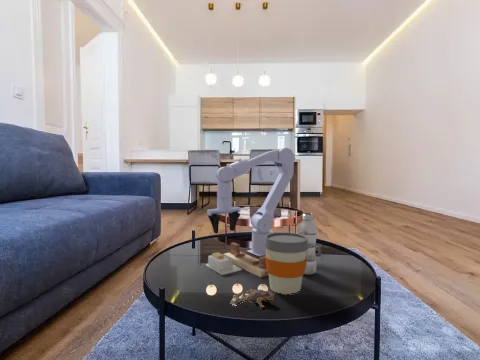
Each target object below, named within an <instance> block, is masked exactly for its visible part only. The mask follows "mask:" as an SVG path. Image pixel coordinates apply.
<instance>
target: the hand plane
mask: <svg viewBox="0 0 480 360" xmlns="http://www.w3.org/2000/svg"><path fill="white" fill-rule="evenodd" d="M229 251H230V252H225V253H222V254H223V255H225V256H227V257H229V258H231V259H233V265H235V266H237V267H239V268H241V269H242V270H245V271H246V272H249V274H252V275H255V276H257V277H259V278H263V277H267V276H268V277H269V273H268V272H267V268H266V258H265V256H258V258H256V257H254V256H251V255H249V254H247V253H245V252H241V244H239V243H236V242H230V250H229Z"/></svg>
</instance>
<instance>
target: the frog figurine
mask: <svg viewBox="0 0 480 360" xmlns="http://www.w3.org/2000/svg"><path fill="white" fill-rule="evenodd" d="M274 297H275V294H274V293H273V292H272V290H271V289H268V290H263V289H255V288H254V287H253V288H250V289H248V290H246V292H239V293H237V294H233V296H232V299H231V300H230V302H229V304H230V305H231V304H232V305H231V306H233V305H234V306H237V305H236V304H237V303H238V302H240V301H244V302H251V303H252V302H256V303H258V304H259V306H260V307H265V305H263V302H262V301H265V300H272V301H273V300H274ZM258 304H257V305H258ZM234 306H233V307H234Z"/></svg>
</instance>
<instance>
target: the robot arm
mask: <svg viewBox="0 0 480 360" xmlns="http://www.w3.org/2000/svg"><path fill="white" fill-rule="evenodd" d="M295 160H296V157H295V153H294V152H293V149H291V148H290V147H284V148H276V149H273V150H270V151H265V152H263V153H261V154H260V155H257V156H255V157H253V158H250V159H248V160H247V159H245V158H243V159H242V158H238V159H236V161H234V162H232V163H227V164H226V166H221V167H219V168H218V169H217V171H216V173H215V177H216V179H217V181H216V182H217V186H216V188H217V189H216V208H211V209H207V210H206V214H207V215H206V216H207V218H208V220H209V221H210V223H211V226H212V230H213V234H216V235H217V234H219V226H220V225H219V223H220V220H221V216H219V215H222V214H223V215H224V214H227V215H228V221H229V230H230V231H232V232H235V229H236V226H237V225H236V224H237V222H238V221H239V218H240V216H241V207H239V206H232V203H233V201H232V200H233V199H232V198H233V197H232V195H233V194H232V192H233V191H232V190H233V187H232V184H233V183H232V180H233V179H236V178H238V177H240V176H243V175H245V174H247V173H249V172H250V171H251V168H254V167H257V166H260V165H261V164H265V163H267V162H271V163H274V165H275V166H276V168H277V170H278V172H279V173H278V175H277V178H276V179H275V181H274V183H273V185H272V186H271V188H270V190H269V193H268V194H267V196H266V198H265V200H264V201H263V204H262V206H261V207H259V208H258V209H257V211H256V212H255V213H254V214H253V215H252V216H251V218H250V224H251V226H252V229H251V249H248V250H247V253H250V254H252V255H255V256H257V257H265V255H266V248H265V246H264V245H265V237H266V235H268V234H271V233H275V232H274V230H272V228H273V227H272V226H273V220H274V219H275V218H274V217H275V216H274V214H275V213H274V212H275V210H276V209H277V206H278V205H279V203H280V201H281V199H282V197H283V195H284V193H285V191H286V189H287V188H288V186H289V184H290V182H291V180H292V179H293V176H294V172H295V171H294V170H295V169H294V168H295Z"/></svg>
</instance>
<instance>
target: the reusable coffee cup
mask: <svg viewBox="0 0 480 360" xmlns="http://www.w3.org/2000/svg"><path fill="white" fill-rule="evenodd" d="M264 246H265V248H266V255H264V257H265V258H266V268H267V272H268V273H269V275H268V282H269V290H271V292H274V293H276V292H277V294H279V293H281V295H287V294H289V295H291V294H290V293H296V292H298V291H300V292H301V290H302V284H303V276H304V275H305V268H306V261H307V257H306V251H307V250H308V240H307V237H305V236H303V235H300V234H298V233H294V232H283V231H282V232H274V233H271V234H268V235H266V237H265V245H264ZM300 289H301V290H300ZM298 293H299V292H298ZM296 294H297V293H296Z"/></svg>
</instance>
